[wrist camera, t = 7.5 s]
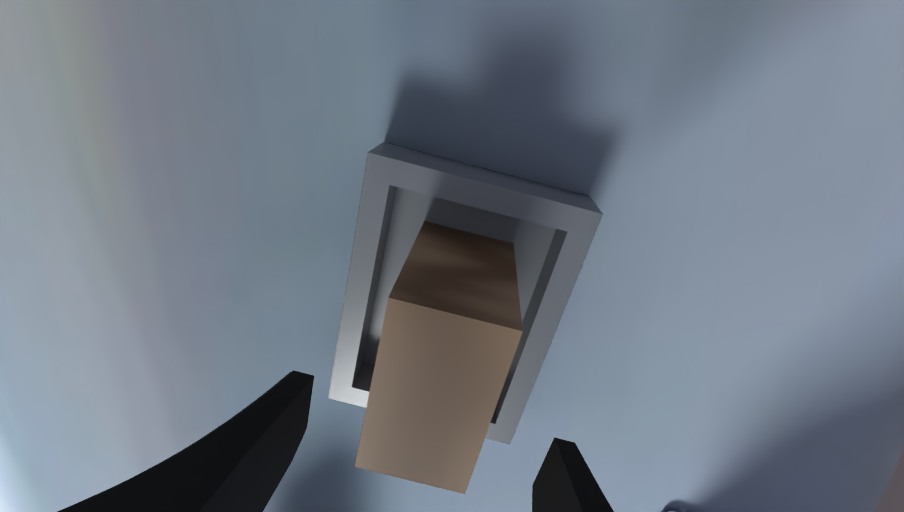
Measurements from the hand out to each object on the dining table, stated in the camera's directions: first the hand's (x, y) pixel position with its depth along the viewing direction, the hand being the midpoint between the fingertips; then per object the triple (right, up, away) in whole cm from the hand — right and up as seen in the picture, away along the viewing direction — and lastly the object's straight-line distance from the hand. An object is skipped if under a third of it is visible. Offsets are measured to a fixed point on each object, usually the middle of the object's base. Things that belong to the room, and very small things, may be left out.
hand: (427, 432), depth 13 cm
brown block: (+1, +3, +8) cm, 8 cm away
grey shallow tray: (+1, +3, +8) cm, 9 cm away
